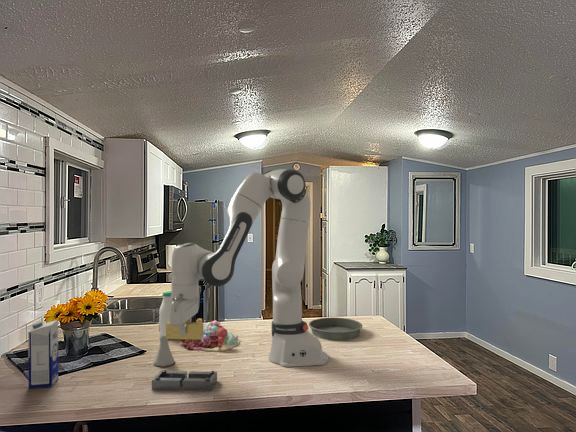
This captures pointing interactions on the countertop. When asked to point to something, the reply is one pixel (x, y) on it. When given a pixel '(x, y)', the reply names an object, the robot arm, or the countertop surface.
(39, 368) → the milk carton
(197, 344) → the candy landscape model
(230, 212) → the robot arm
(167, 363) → the flask
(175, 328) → the tall mustard post
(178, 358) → the countertop surface
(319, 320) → the cake pan
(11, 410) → the countertop surface
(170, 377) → the link
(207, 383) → the grey forked link
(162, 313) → the milk bottle
